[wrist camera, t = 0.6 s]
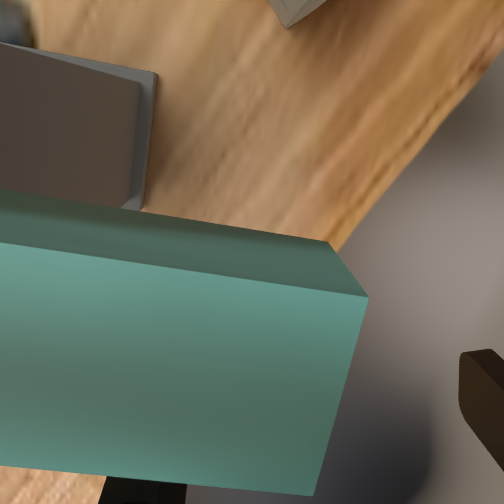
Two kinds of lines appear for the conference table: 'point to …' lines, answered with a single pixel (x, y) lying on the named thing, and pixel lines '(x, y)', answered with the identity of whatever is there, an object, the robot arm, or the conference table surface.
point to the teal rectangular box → (169, 346)
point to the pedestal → (74, 127)
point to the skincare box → (294, 9)
